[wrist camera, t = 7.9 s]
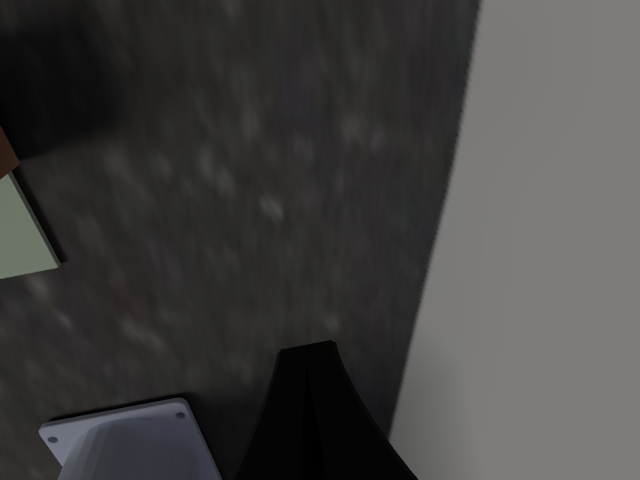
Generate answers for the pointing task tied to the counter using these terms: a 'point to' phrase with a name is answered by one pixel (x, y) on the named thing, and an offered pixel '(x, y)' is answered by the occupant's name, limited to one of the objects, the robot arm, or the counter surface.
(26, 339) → the counter surface
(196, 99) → the counter surface
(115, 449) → the robot arm
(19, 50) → the counter surface
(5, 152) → the maple block
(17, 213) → the mat
